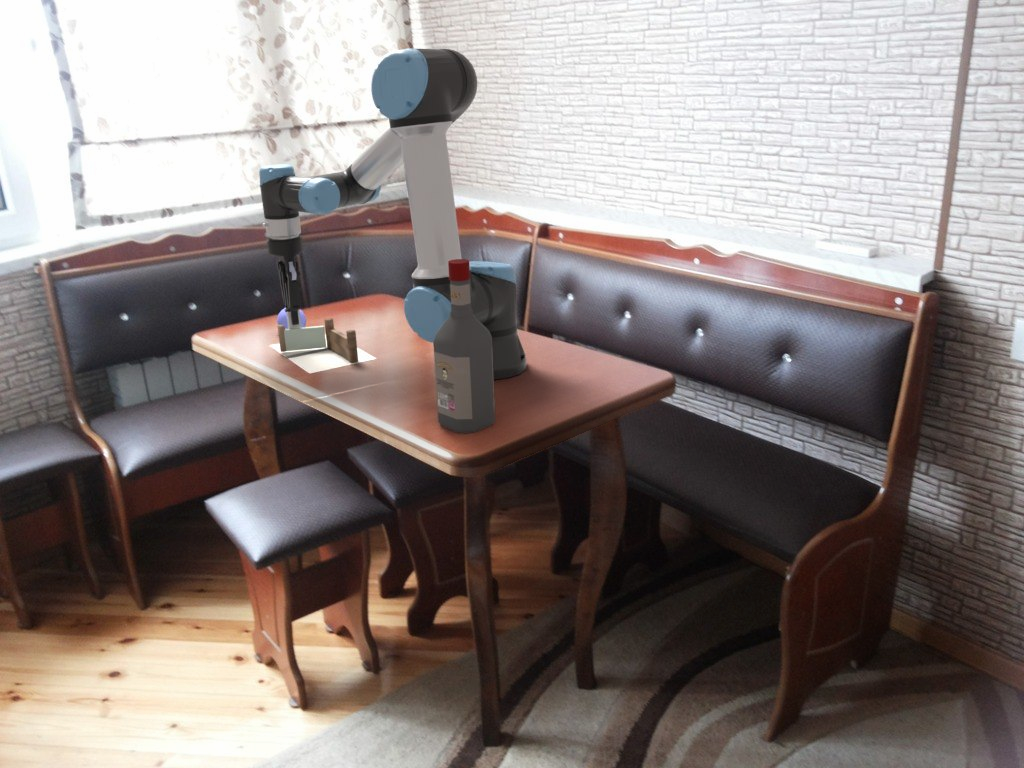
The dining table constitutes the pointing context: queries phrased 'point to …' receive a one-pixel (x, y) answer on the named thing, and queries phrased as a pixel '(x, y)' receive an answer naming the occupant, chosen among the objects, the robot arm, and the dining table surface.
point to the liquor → (463, 361)
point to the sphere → (283, 318)
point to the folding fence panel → (301, 338)
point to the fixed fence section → (341, 341)
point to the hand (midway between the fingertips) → (295, 336)
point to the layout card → (320, 358)
